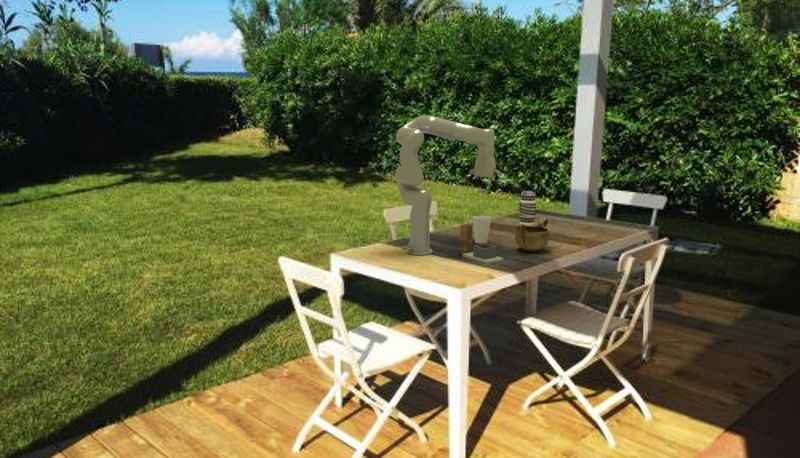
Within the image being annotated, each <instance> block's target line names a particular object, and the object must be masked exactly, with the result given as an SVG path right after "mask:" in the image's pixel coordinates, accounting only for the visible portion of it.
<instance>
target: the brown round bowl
mask: <svg viewBox="0 0 800 458" xmlns="http://www.w3.org/2000/svg"><path fill="white" fill-rule="evenodd" d="M548 224H549V219H548V218H546V217H540V218H539V219H538V222H537V224H536V225H535V226H525V225H524V224H520V222H519V223H516V225H515V230H514V238H515V243H516V245H517V246H518V248H520V249H522V250H523V251H525V252H529V253H530V252H531V253H533V252H539V251H541V250H543V249H545V248H546V247H547V246H548V243H549V241H550V228H548V227H547V226H548Z"/></svg>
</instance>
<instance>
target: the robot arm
mask: <svg viewBox="0 0 800 458" xmlns="http://www.w3.org/2000/svg"><path fill="white" fill-rule="evenodd" d="M424 134H429V135H434V136H437V137H441V138H445V139H449V140H453V141H464V142H465V143H466V144H470V145H477V146H478V150H476V152H475V153H476V154H477V156H476V158H475V163H474V167H473V168H471V169H469V170H468V173H469V175H470V176H471V178H472V180H473V188H478V187H479V179H478V178H479V177H482V178H491V180H492V181H491V190H495V189H496V187H497V181H498V180H499V179H500V177H501V175H502V174H503V173H502V172H501V171H500V170H499V169H497V165H496V159H495V156H494V154H495V153H494V152H495V151H494V150H495V147H494V146H495V130H494V129H492V128H479V127H476V126H472V125H468V124H463V123H460V122H458V121H452V120H448V119H445V118H442V117H439V116H434V115H428V114H427V115H419V116H417V117H415V118H414V119H412V120H410V121H409V122H408V123H406V124H405V125H403V126H401V127H400V128H399V129H398V130H397V131H396V135H395V139H396V141H397V142H398V144H400V145H401V148H400V151H399V162H400V166H399V167H397V169H396V170H395V175H394V176H395V177H394V178H395V182H396V186H397V188H398V192H399V195H400V198H401V200H402V202H403V203H404V204H406V205H408V206H412V207H411V210H410V213H409V242H408V243H407V245H403V246H401V251H406V253H407V254H409V255H414V256H426V255H430V254H433V248H430V229H431V227H430V223H431V222H430V220H431V219H430V218H431V217H430V216H431V208H432V207H431V206H432V200H433V196H432V194H431V192H430V191H429V190H428V189H427V188H424V187H420V185H422V183H423V182H424V174H423V170H422V168H421V164H420V162H419V156H418V155H419V154H418V153H419V150H420V148H421V146H422V144H423V142H424V140H425V135H424ZM496 174H497V175H496Z"/></svg>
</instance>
